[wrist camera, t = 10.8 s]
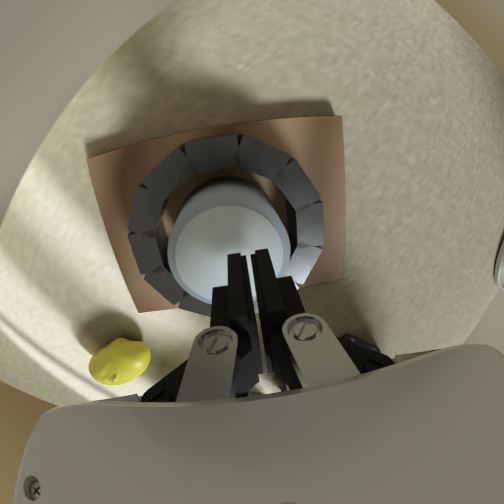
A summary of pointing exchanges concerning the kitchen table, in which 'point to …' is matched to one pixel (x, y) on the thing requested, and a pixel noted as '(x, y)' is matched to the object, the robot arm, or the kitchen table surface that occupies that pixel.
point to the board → (268, 131)
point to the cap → (224, 234)
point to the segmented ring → (212, 158)
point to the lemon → (119, 362)
